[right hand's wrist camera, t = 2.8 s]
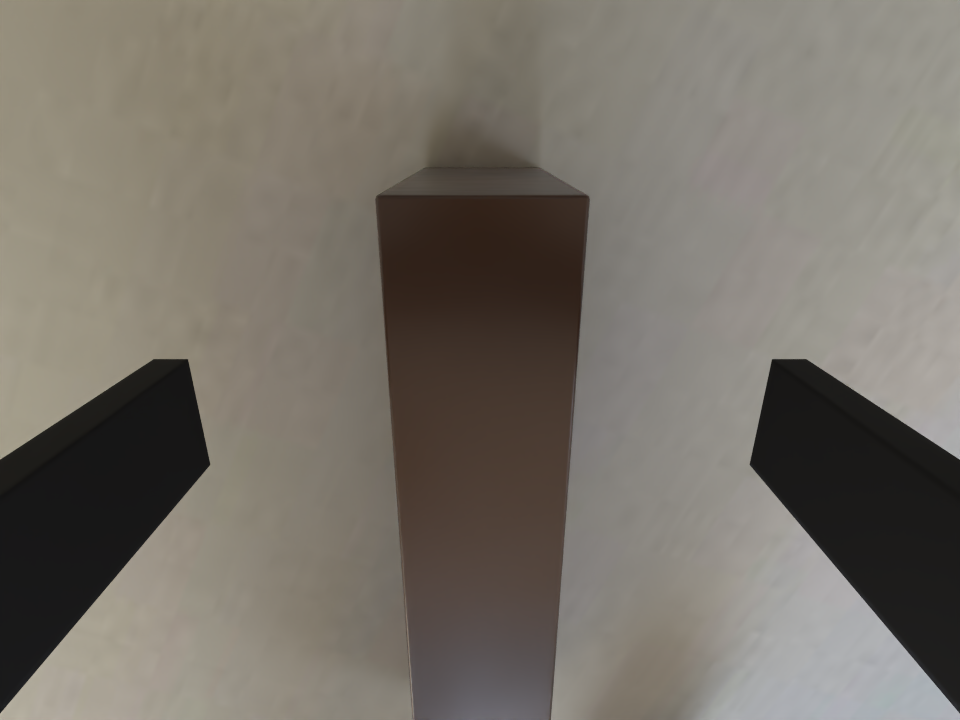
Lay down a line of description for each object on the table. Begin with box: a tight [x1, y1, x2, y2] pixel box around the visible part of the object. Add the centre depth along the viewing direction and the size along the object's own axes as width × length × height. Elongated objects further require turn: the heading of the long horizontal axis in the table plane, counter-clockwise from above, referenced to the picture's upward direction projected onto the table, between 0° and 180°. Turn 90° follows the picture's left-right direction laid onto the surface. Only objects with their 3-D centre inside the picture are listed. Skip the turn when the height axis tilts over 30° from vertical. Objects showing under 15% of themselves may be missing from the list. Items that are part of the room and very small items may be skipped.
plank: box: [376, 168, 590, 720], centre depth 19 cm, size 26×4×9 cm, turn 0°
